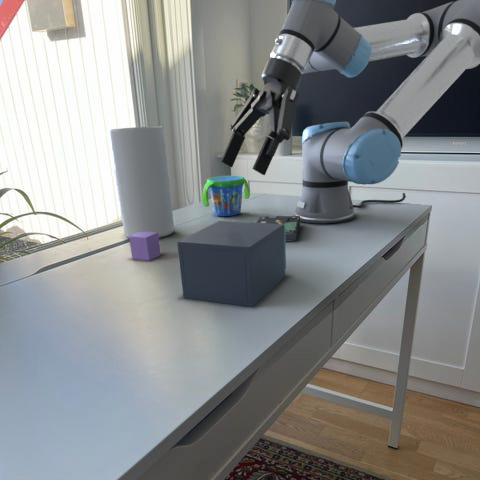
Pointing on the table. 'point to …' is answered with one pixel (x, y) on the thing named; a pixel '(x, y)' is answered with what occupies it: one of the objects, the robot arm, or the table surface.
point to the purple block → (145, 245)
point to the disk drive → (289, 222)
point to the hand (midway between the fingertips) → (241, 168)
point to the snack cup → (226, 194)
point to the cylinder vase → (142, 179)
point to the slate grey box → (232, 262)
